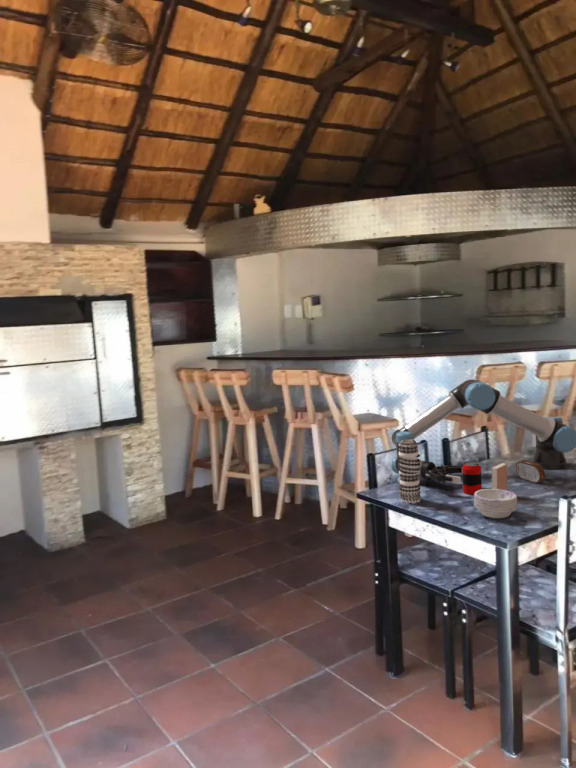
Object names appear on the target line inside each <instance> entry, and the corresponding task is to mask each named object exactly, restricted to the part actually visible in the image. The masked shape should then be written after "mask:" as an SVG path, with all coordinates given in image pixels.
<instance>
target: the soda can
mask: <svg viewBox="0 0 576 768" xmlns="http://www.w3.org/2000/svg"><path fill="white" fill-rule="evenodd" d="M461 474H462V491H463V493H464V494H465V495H470V496H474V493H475V492H476V491H478V490H482V489H483V488H482V487H483V485H482V483H483V481H482V480H483V478H482V467H481V465H479V463H477V462H466V463H464V465H463V467H462V473H461Z"/></svg>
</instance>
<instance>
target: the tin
mask: <svg viewBox="0 0 576 768" xmlns="http://www.w3.org/2000/svg"><path fill="white" fill-rule="evenodd" d="M515 471H516V474H517V476H518V477H519V478H520V479H522V480H524V481H527V482H530V483H533V484H539V483H540V484H541V483H543V482H544V481H545V479H546V473H545V469H543V468H542V467H541V466H540V465H539V464H537V463H533V462H532V461H530V460H526V459H523V460H520V461H518V462H517V463H516V465H515Z"/></svg>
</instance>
